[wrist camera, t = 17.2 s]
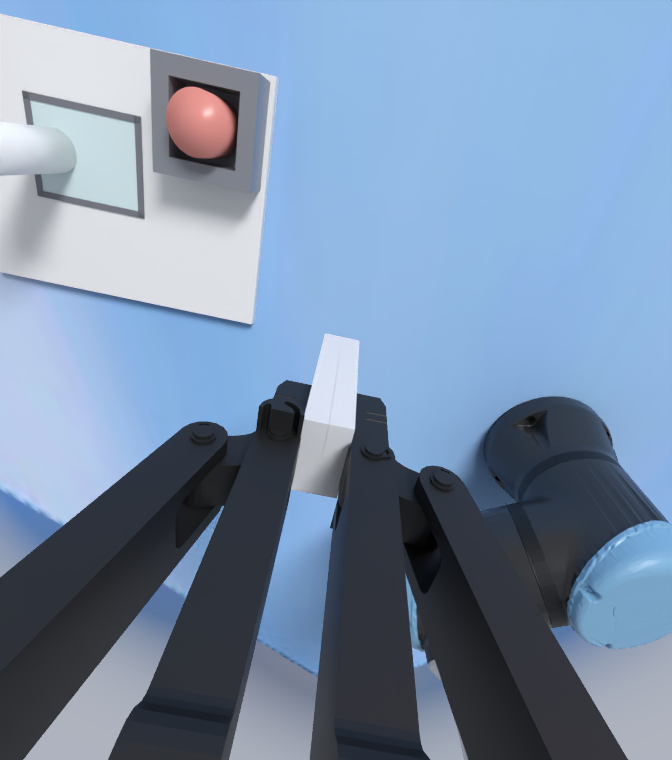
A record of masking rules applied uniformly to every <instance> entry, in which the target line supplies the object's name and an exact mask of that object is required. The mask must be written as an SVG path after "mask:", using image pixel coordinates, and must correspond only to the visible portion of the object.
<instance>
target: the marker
mask: <svg viewBox="0 0 672 760" xmlns="http://www.w3.org/2000/svg"><path fill="white" fill-rule="evenodd" d="M76 160H77V156H76V150H75V147H74V145H73V143H72V141H71V140H70V138H69V137H68V136H67V135H66V134H65V133H64V132H62V131H61V130H59V129H57V128H54V127H46V126H36V125H26V124H17V123H7V122H0V176H7V175H32V174H58V173H68V172H70V171H71V170H72V169H73V168H74V167H75V164H76Z"/></svg>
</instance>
